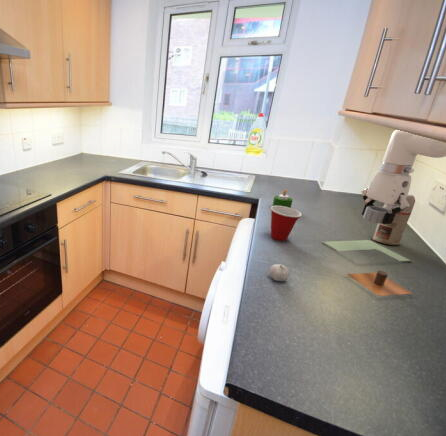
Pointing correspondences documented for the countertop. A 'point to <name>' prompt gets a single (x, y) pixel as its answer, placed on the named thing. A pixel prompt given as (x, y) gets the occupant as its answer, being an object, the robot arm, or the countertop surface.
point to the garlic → (279, 272)
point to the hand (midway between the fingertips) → (376, 218)
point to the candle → (282, 200)
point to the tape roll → (375, 214)
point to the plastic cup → (282, 221)
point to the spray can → (394, 225)
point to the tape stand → (379, 283)
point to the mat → (362, 247)
